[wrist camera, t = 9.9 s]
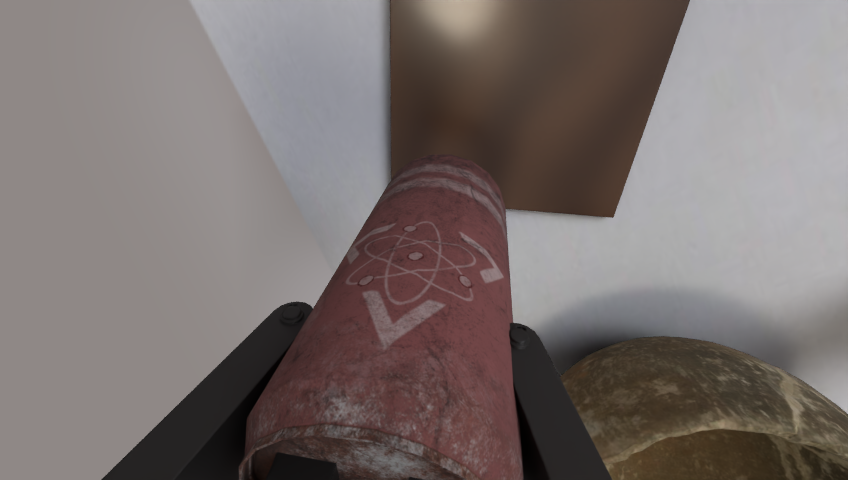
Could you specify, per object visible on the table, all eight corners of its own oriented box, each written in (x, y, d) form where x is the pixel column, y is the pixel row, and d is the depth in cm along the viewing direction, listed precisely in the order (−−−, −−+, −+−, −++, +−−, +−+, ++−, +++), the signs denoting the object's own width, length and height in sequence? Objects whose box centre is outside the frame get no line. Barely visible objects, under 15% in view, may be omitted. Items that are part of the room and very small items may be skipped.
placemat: (392, 196, 32) (391, 199, 31) (391, -128, 21) (388, -131, 20) (611, 214, 30) (613, 217, 30) (727, -120, 20) (733, -123, 19)
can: (358, 196, 20) (155, 477, 8) (457, 124, 17) (377, 386, 5) (429, 276, 22) (352, 596, 10) (527, 223, 19) (587, 577, 7)
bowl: (803, 417, 40) (955, 604, 28) (563, 467, 50) (595, 622, 38) (752, 225, 30) (964, 387, 17) (458, 336, 39) (453, 492, 27)
